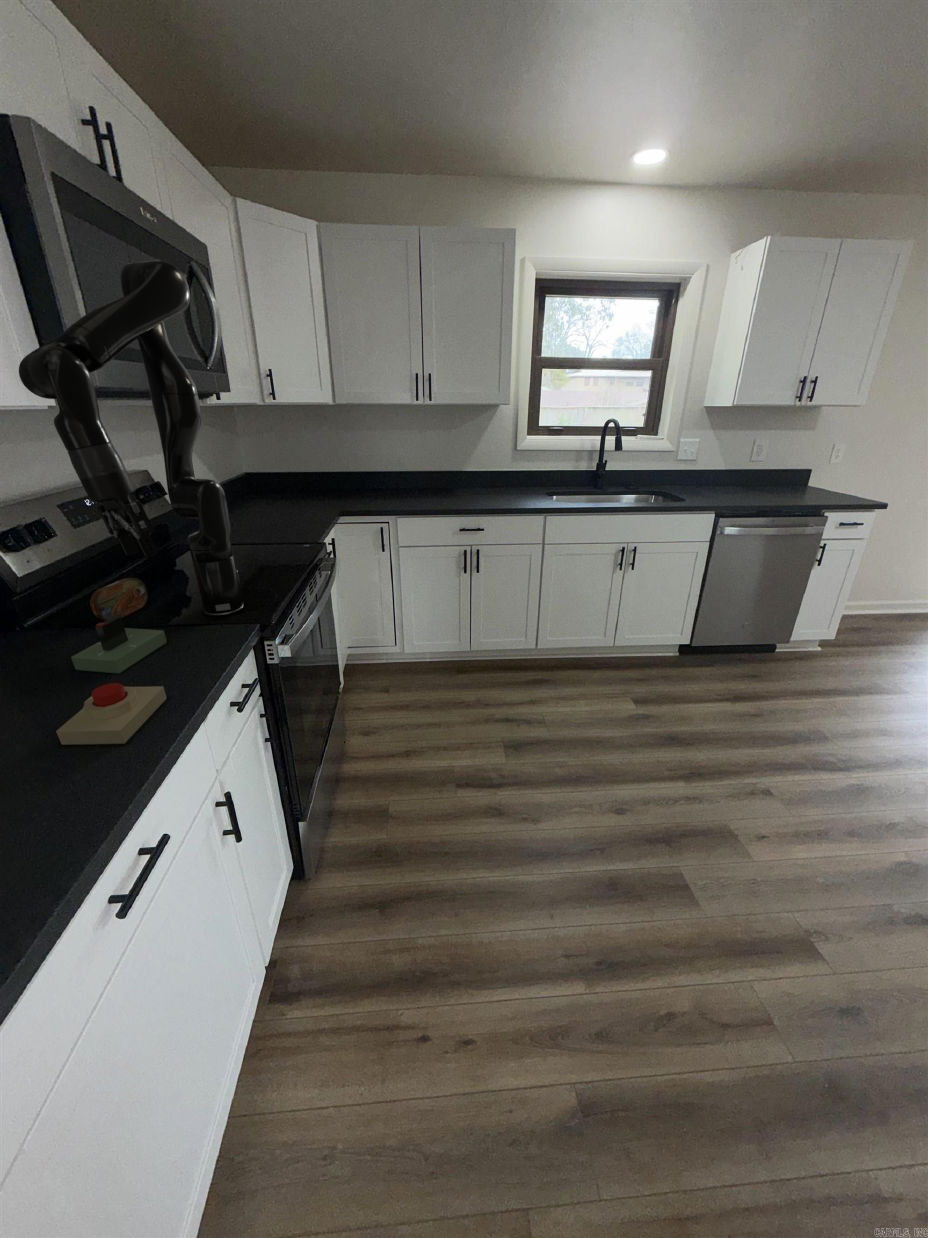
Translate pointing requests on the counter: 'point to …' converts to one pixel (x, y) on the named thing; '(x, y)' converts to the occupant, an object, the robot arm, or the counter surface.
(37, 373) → the robot arm
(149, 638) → the panel
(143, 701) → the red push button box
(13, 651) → the counter surface
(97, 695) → the power button
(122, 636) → the black upright block
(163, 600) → the counter surface
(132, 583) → the tin
